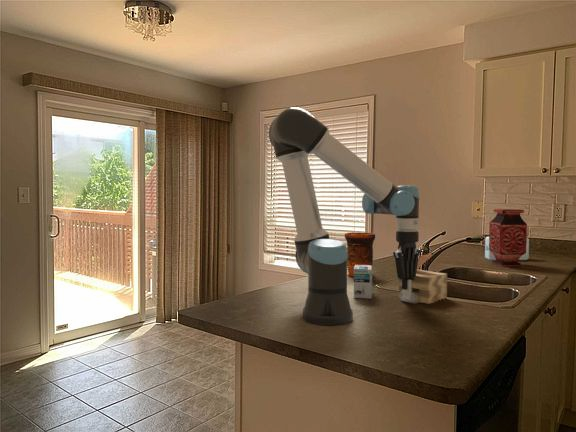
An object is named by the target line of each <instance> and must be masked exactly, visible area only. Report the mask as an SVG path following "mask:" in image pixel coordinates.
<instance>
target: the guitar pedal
mask: <svg viewBox="0 0 576 432" xmlns="http://www.w3.org/2000/svg"><path fill="white" fill-rule="evenodd" d="M484 240H485V243H484V258H485V259H486V260H489V261H493V260H496V258H495V256H494V255H493V253H492V252H491V251H490V250H489V236H486V237H485V239H484ZM529 252H530V239H529V237H528V236H527V243H526V254H524V255H522V256H521V257H520V258H519V260H518V261H527V260H529V259H530V258H529V257H530V256H529V255H530V254H529Z"/></svg>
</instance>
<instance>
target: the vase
mask: <svg viewBox="0 0 576 432" xmlns="http://www.w3.org/2000/svg"><path fill="white" fill-rule="evenodd" d="M493 213H496V214H495V216H494V218H493V219H492V220H490V221H489V232H488V234H489V236H488V237H489V250H490V251H491V252H492V253H493V255H494V256H495V258H496V260H491V263H492V264H494V265H496V266H499V267H522V263H521V262H518V261H520V260H519V258H520V257H521V256H522V255H524V254H526V243H527V237H528V235H527V234H528V224H527V222H526V221H525V220H524V219H523V217H522V216H521V214H524V213H525V209H521V208H520V209H518V208H515V209H513V208H505V209H504V208H494V209H493Z"/></svg>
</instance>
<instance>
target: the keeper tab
mask: <svg viewBox="0 0 576 432" xmlns="http://www.w3.org/2000/svg"><path fill="white" fill-rule="evenodd" d="M431 257H433V256H432V253H429V254H428V253H427V254H423V255H421V256H419V258H418V265H417V270H419V268H420V267H421V266H423V265H424V263H426V261H428V260H429V259H430V258H431Z"/></svg>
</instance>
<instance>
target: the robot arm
mask: <svg viewBox="0 0 576 432" xmlns="http://www.w3.org/2000/svg"><path fill="white" fill-rule="evenodd" d="M268 139H269V141H270V144H271V145H272V148H273V150H274V154H275V155H274V156H275V159H276V160H278V161H279V162H280V163H281V166H282V169H283V173H284V175H283V176H284V178H285V183H286V188H287V191H288V197H289V201H290V207H291V211H292V215H293V220H294V223H295V229H296V235H295V237H294V239H293V241H294V245H295V247H294V248H295V262H296V264H297V266H298V268H299V269H300V270H301V271H302V272H303V273H305V274H307V277H308V278H307V279H308V280H307V281H308V282H307V284H308V285H307V286H308V292H307V297H306V300H305V305H304V306H303V309H302V320H303V321H305V322H307V323H309V324H314V325H321V326H339V325H344V324H348V323H351V322H352V321H353V319H354V318H353V317H354V315H353V313H354V312H353V309H352V308H351V303H350V299H349V296H348V275H347V274H348V267H347V258H348V253H347V244H345V243H344V242H342V241H341V240H337V239H332V238H331V239H330V234H329V231H328V230H326V229H324V227H323V225H322V219H321V215H320V214H321V213H320V209H319V205H318V200H317V196H316V191H315V190H316V189H315V186H314V181H313V177H312V171H311V168H310V163H309V155H315V157H317V158H318V159H320V160H321V161H322V162H324V163H325V164H326V165H327V166H329V167H330V168H331V169H333V171H335V172H337V173H338V174H339V175H341V176H342V178H343V179H345V180H347V181H348V182H350V184H352V185H353V186H355V188H357V189H359V190H360V191H361V192H362V193H363V195H362V199H361V206H362V211H363V212H364V213H365V214H367V215H368V214H369V215H370V214H371V215H372V214H373V215H378V214H379V215H380V214H381V215H392V216H395V229H396V230H397V231H395V240H396V242H397V243H398V246H397V250H396V251H393V252H392V254H393V257H394V261H395V262H394V263H395V266H396V268H395V269H396V273H397V275H396V276H397V278H398V280H399V279H402V298H405V299H411V288H412V280H414V279H415V278H413V277H416V272H417V270H418V269H417V265H418V259H419V258H420V254H421V249H418V248H417V244H416V243H418V242H419V235H420V233H419V231H418V230H419V223H420V222H419V218H420V217H419V216H420V214H419V212H420V191H419V188H418V186H416V185H397V186H395V184H393V183H392V182H390V181H389V180H388V179H386V177H384V176H383V175H382V174H381V173H379V172H378V171H376V170H375V168H373V167H372V166H371V165H370V164H368V163H367V162H365V160H363V159H362V158H360V157H359V156H358V155H357V154H355V153H354V152H353V151H352V150H350V149H349V148H348V147H347V146H346V145H345V144H343V143H342V142H340V141H339V140H338V139H337V138H336V137H334V136H333V135H332V134H331V133H330V131H329V128H328V126H326V125H325V124H323V122H322V121H320V120H319V119H318V118H316V117H315V116H314V115H312V113H310V112H309V111H306V110H305V109H303V108H300V107H288V108H285V109H284V110H282V111H280V113H279V114H278V116H276V117H275V118H274V119H273V120H272V122H271V124H270V125H269V129H268Z"/></svg>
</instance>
